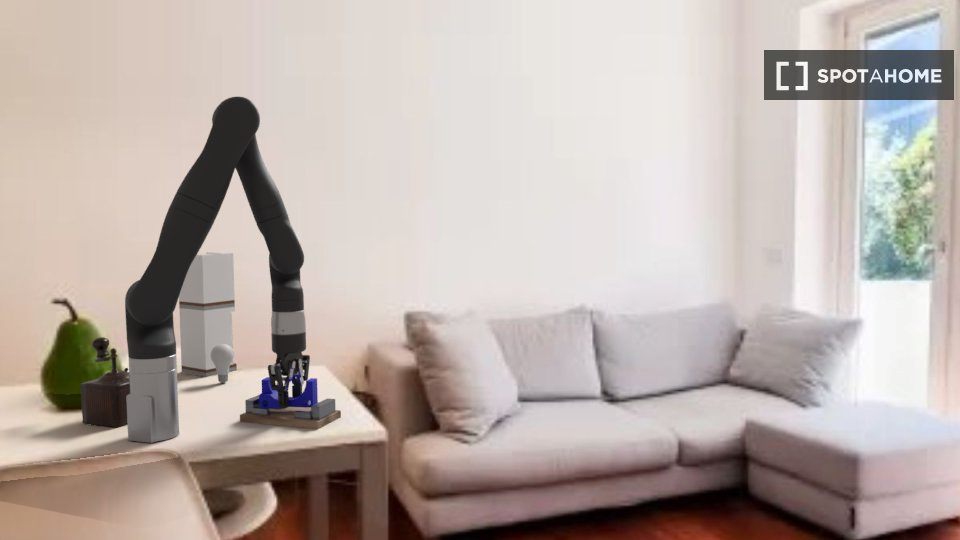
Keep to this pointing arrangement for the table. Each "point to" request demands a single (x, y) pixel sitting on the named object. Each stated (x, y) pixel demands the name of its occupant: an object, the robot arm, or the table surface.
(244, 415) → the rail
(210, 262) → the white square pillar
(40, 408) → the table surface
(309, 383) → the blue curved cradle
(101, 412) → the manual coffee grinder
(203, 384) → the table surface
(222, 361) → the lightbulb
